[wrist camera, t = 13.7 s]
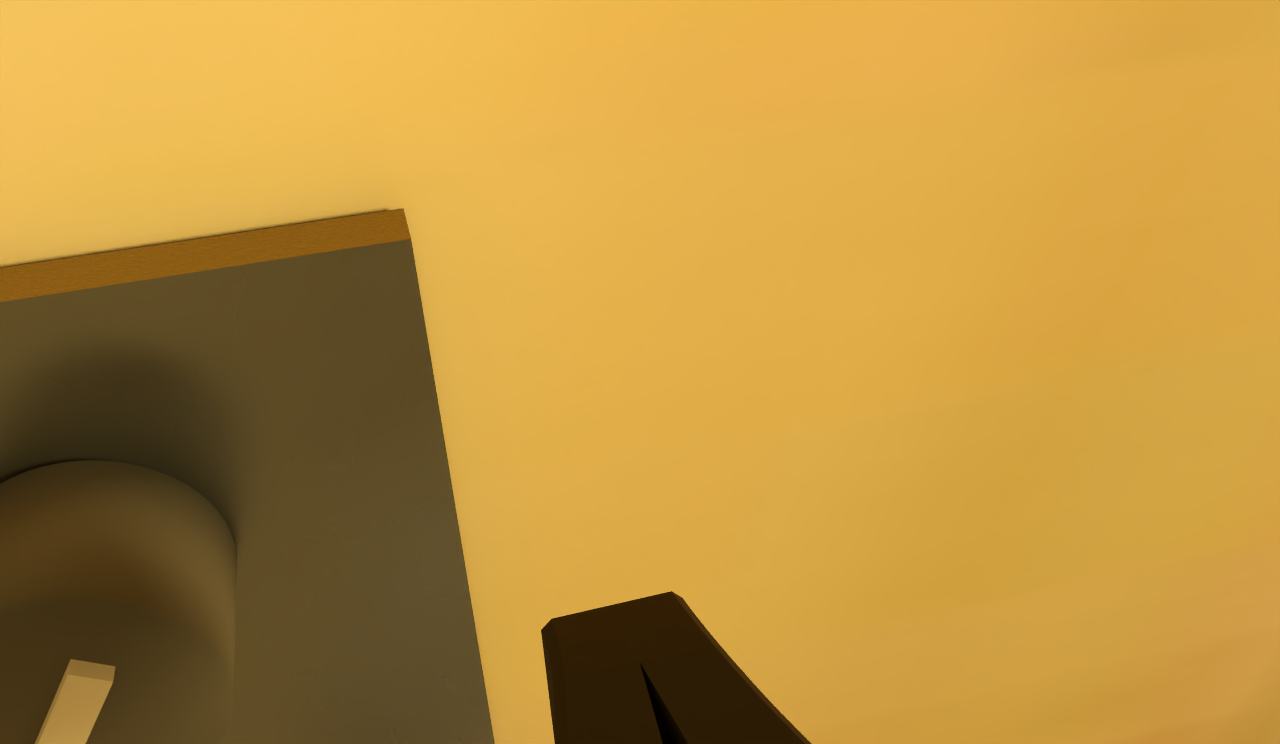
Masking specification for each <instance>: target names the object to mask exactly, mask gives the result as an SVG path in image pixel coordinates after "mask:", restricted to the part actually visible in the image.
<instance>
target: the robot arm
mask: <svg viewBox="0 0 1280 744" xmlns="http://www.w3.org/2000/svg"><path fill="white" fill-rule="evenodd" d="M541 633H542V641H543V649H544V657H545V666H546V674H547V682H548V690H549V699H550V707H551V715H552V723H553V731H554V740H555V744H811V743H810V742H809V741H808V740H807V739H806V738H805V737H804V736H803V735H802V734H801V733H800V732H799V731H798V730H797V729H796V728H795V727H794V726H793V725H792V724H791V723H790V722H789V721H788V720H787V719H786V718H785V717H784V716H783V715H782V714H781V713H780V712H779V710H778V709H777V708H776V707H775V706H774V705H773V704H772V703H771V702H770V701H769V700H768V699H767V698H766V697H765V696H764V694H763V693H762V692H761V691H760V690H759V689H758V688H757V687H756V686H755V685H754V684H753V682H752V681H751V680H750V679H749V678H748V677H747V676H746V675H745V673H744V672H743V671H742V670H741V669H740V668H739V667H738V666H737V664H736V663H735V662H734V661H733V660H732V659H731V658H730V656H729V655H728V654H727V653H726V652H725V651H724V649H723V648H722V647H721V646H720V645H719V644H718V642H717V641H716V640H715V639H714V638H713V636H712V635H711V634H710V633H709V632H708V630H707V629H706V628H705V627H704V625H703V624H702V623H701V622H700V620H699V619H698V618H697V617H696V615H695V614H694V613H693V611H692V610H691V609H690V608H689V606H688V605H687V604H686V602H685V601H684V600H683V598H682V597H680V596H678V595H677V594H675V593H673V592H672V591H671V592H667V593H662V594H658V595H654V596H649V597H645V598H641V599H636V600H632V601H628V602H623V603H619V604H614V605H610V606H606V607H601V608H597V609H593V610H588V611H584V612H579V613H575V614H571V615H566V616H562V617H558V618H553V619H551V620H550V621H549V622H548V623H547V624H546V625H545V627H544V628H543V629H542V630H541Z"/></svg>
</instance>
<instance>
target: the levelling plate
mask: <svg viewBox="0 0 1280 744" xmlns="http://www.w3.org/2000/svg"><path fill="white" fill-rule="evenodd" d="M82 460H104V461H114V462H123V463H128V464H134V465H139V466H143V467H146V468H149V469H153V470H156V471H159V472H162V473H164V474H166V475H169V476H171V477H173V478H176V479H178V480H179V481H181V482H183V483H185V484H186V485H188V486H190V487H191V488H193V489H194V490H196V491H197V492H198V493H200V494H201V495H202V496H204V497H205V498H206V499H207V500H208V501H209V502H210V503H211V504H212V505H213V506H214V507H215V508H216V509H217V511H218V512H219V513H220V515H221V516H222V517H223V518H224V520H225V522H226V524H227V525H228V527H229V529H230V531H231V534H232V536H233V539H234V542H235V546H236V553H237V582H236V615H235V647H234V679H233V708H232V713H231V718H230V722H229V724H228V727H227V729H226V732H225V734H224V736H223V737H222V739H221V741H220V742H219V744H495V743H494V737H493V731H492V725H491V719H490V713H489V707H488V701H487V695H486V689H485V683H484V677H483V671H482V665H481V659H480V653H479V647H478V641H477V635H476V629H475V622H474V616H473V610H472V604H471V598H470V592H469V586H468V580H467V574H466V568H465V562H464V556H463V550H462V544H461V538H460V532H459V526H458V520H457V514H456V508H455V502H454V496H453V490H452V484H451V478H450V472H449V465H448V459H447V453H446V447H445V441H444V435H443V429H442V423H441V417H440V411H439V405H438V399H437V393H436V387H435V381H434V375H433V369H432V363H431V357H430V351H429V345H428V339H427V333H426V327H425V321H424V314H423V308H422V302H421V296H420V290H419V284H418V278H417V272H416V266H415V260H414V254H413V248H412V242H411V237H410V233H409V229H408V225H407V221H406V217H405V213H404V209H396V210H390V211H383V212H376V213H369V214H363V215H356V216H349V217H342V218H335V219H329V220H322V221H315V222H308V223H302V224H295V225H288V226H281V227H275V228H268V229H261V230H254V231H248V232H241V233H234V234H227V235H221V236H214V237H207V238H200V239H194V240H187V241H180V242H173V243H167V244H160V245H153V246H146V247H140V248H133V249H126V250H119V251H113V252H106V253H99V254H92V255H86V256H79V257H72V258H65V259H59V260H52V261H45V262H38V263H32V264H25V265H18V266H11V267H5V268H0V484H1V483H3V482H5V481H6V480H8V479H10V478H13V477H15V476H17V475H19V474H22V473H24V472H27V471H30V470H33V469H36V468H40V467H43V466H48V465H52V464H57V463H62V462H72V461H82Z"/></svg>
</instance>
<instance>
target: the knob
mask: <svg viewBox="0 0 1280 744" xmlns="http://www.w3.org/2000/svg"><path fill="white" fill-rule="evenodd" d="M236 582H237V553H236V546H235V542H234V539H233V536H232V534H231V531H230V529H229V527H228V525H227V524H226V522H225V520H224V518H223V517H222V516H221V515H220V513H219V512H218V511H217V509H216V508H215V507H214V506H213V505H212V504H211V503H210V502H209V501H208V500H207V499H206V498H205V497H204V496H202V495H201V494H200V493H198V492H197V491H196V490H194V489H193V488H191V487H190V486H188V485H186V484H185V483H183V482H181V481H179V480H178V479H176V478H173V477H171V476H169V475H166V474H164V473H162V472H159V471H156V470H153V469H149V468H146V467H143V466H139V465H134V464H128V463H123V462H114V461H104V460H82V461H72V462H62V463H57V464H52V465H48V466H43V467H40V468H36V469H33V470H30V471H27V472H24V473H22V474H19V475H17V476H15V477H13V478H10V479H8V480H6V481H5V482H3V483H1V484H0V744H219V742H220V741H221V739H222V737H223V736H224V734H225V732H226V729H227V727H228V724H229V722H230V718H231V713H232V708H233V679H234V647H235V615H236Z"/></svg>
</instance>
